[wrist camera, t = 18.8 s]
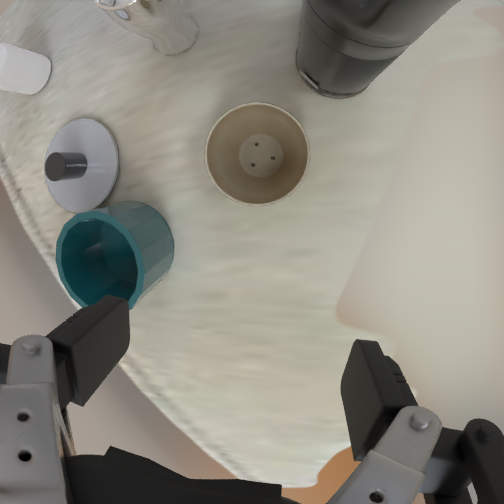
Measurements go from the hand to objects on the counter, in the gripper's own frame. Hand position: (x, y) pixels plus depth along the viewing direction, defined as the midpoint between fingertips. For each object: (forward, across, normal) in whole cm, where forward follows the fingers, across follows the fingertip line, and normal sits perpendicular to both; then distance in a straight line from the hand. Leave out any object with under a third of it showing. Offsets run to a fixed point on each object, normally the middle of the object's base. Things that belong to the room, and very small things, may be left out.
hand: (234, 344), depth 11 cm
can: (+28, +38, -18) cm, 51 cm away
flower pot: (+28, +2, -7) cm, 29 cm away
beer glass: (+28, +15, -22) cm, 39 cm away
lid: (+28, +26, -4) cm, 38 cm away
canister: (+28, +17, +6) cm, 33 cm away
